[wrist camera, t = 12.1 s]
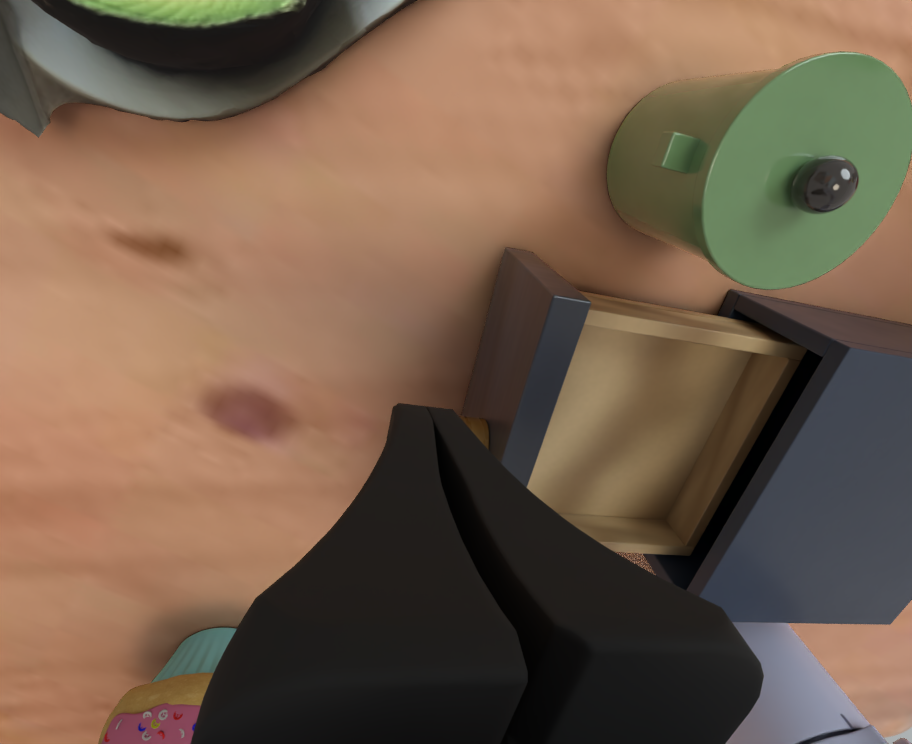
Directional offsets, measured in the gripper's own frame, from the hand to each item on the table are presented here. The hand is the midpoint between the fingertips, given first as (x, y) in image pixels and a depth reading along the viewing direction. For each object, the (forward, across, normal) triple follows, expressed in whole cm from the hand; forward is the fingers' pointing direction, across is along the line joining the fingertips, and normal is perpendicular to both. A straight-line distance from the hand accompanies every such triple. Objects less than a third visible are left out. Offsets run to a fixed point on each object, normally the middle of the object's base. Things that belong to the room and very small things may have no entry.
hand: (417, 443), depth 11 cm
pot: (+9, -9, -7) cm, 15 cm away
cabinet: (+9, -19, +4) cm, 22 cm away
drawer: (+9, -9, +3) cm, 13 cm away
